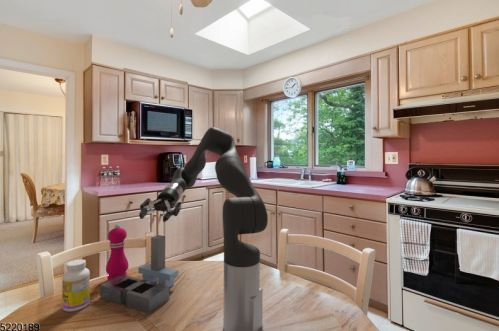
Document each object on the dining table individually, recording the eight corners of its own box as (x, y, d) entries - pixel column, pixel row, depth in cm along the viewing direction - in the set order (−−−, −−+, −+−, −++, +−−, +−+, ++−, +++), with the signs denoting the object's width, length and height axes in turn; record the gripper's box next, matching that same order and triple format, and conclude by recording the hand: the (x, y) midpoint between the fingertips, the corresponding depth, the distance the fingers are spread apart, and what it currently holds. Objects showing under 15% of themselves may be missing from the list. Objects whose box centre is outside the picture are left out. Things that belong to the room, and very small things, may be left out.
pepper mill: (119, 285, 88) (119, 226, 88) (100, 283, 90) (100, 225, 90) (132, 276, 95) (132, 221, 95) (115, 274, 97) (115, 220, 97)
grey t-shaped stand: (178, 286, 88) (178, 237, 88) (170, 291, 84) (170, 241, 84) (147, 278, 94) (147, 232, 93) (138, 283, 90) (138, 235, 90)
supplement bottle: (61, 305, 76) (61, 261, 76) (87, 297, 80) (87, 256, 80) (63, 315, 71) (63, 268, 71) (91, 307, 75) (91, 262, 75)
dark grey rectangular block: (169, 299, 79) (169, 286, 79) (149, 313, 72) (149, 299, 72) (122, 286, 87) (122, 274, 87) (100, 297, 80) (100, 284, 80)
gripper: (153, 185, 105) (131, 207, 91) (187, 189, 104) (170, 212, 89) (155, 201, 109) (134, 224, 94) (187, 205, 107) (172, 229, 92)
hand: (152, 218), depth 92 cm, fingers open, 8 cm apart
